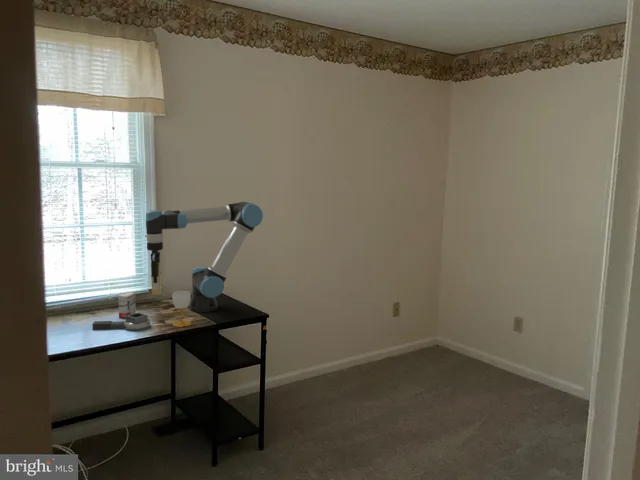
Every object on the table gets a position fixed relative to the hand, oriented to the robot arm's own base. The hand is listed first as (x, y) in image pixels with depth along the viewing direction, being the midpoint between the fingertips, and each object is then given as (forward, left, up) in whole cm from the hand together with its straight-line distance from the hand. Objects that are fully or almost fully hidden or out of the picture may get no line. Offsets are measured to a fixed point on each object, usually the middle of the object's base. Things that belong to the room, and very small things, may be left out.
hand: (156, 287), depth 269 cm
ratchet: (+15, +9, -17) cm, 25 cm away
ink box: (+16, -10, -18) cm, 26 cm away
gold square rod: (0, 0, -3) cm, 3 cm away
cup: (-13, +6, -18) cm, 23 cm away
